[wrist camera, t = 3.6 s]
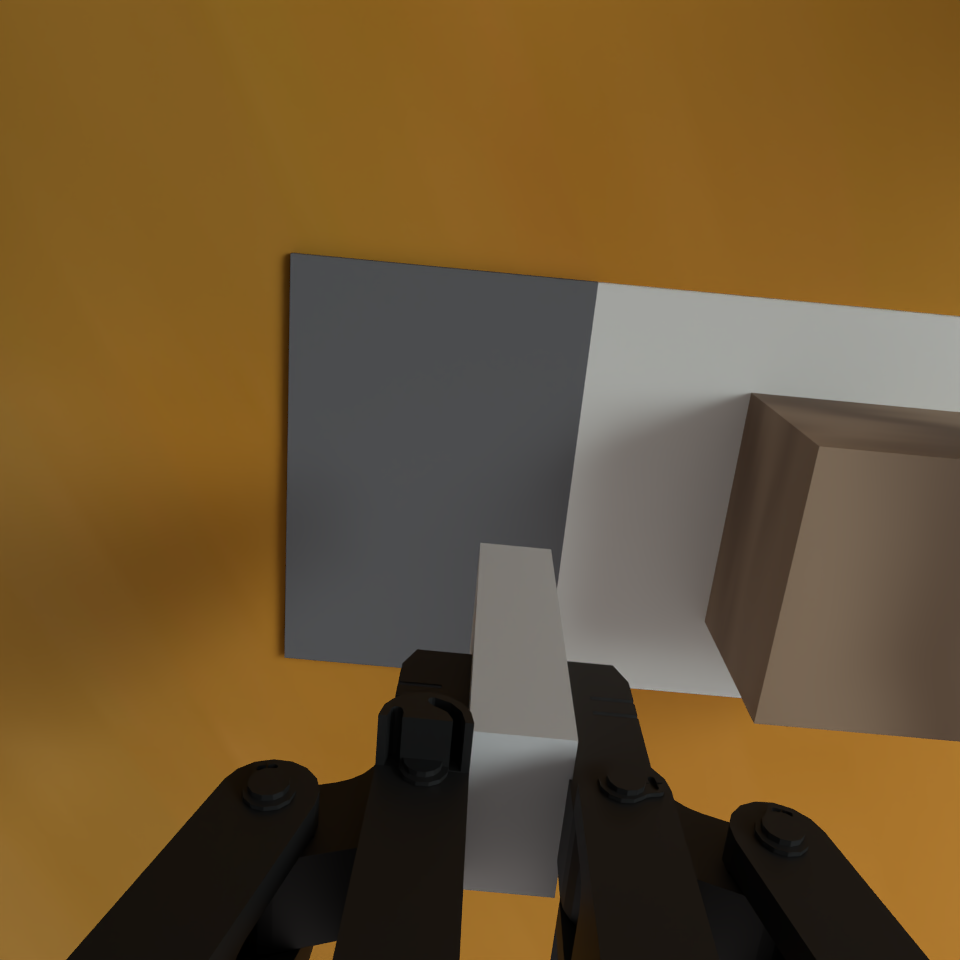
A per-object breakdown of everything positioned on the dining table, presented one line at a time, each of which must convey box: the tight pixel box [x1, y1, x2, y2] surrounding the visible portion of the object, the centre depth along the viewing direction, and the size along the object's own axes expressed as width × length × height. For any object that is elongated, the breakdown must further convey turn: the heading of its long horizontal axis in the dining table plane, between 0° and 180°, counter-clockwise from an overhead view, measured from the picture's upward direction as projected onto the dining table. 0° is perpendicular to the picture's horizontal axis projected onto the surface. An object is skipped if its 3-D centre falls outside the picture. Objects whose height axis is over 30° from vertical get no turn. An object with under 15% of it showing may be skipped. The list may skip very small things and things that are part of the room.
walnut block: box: [705, 393, 960, 741], centre depth 21 cm, size 7×7×5 cm
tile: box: [557, 282, 960, 698], centre depth 24 cm, size 16×12×1 cm
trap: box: [285, 253, 598, 668], centre depth 24 cm, size 8×12×1 cm, turn 175°
